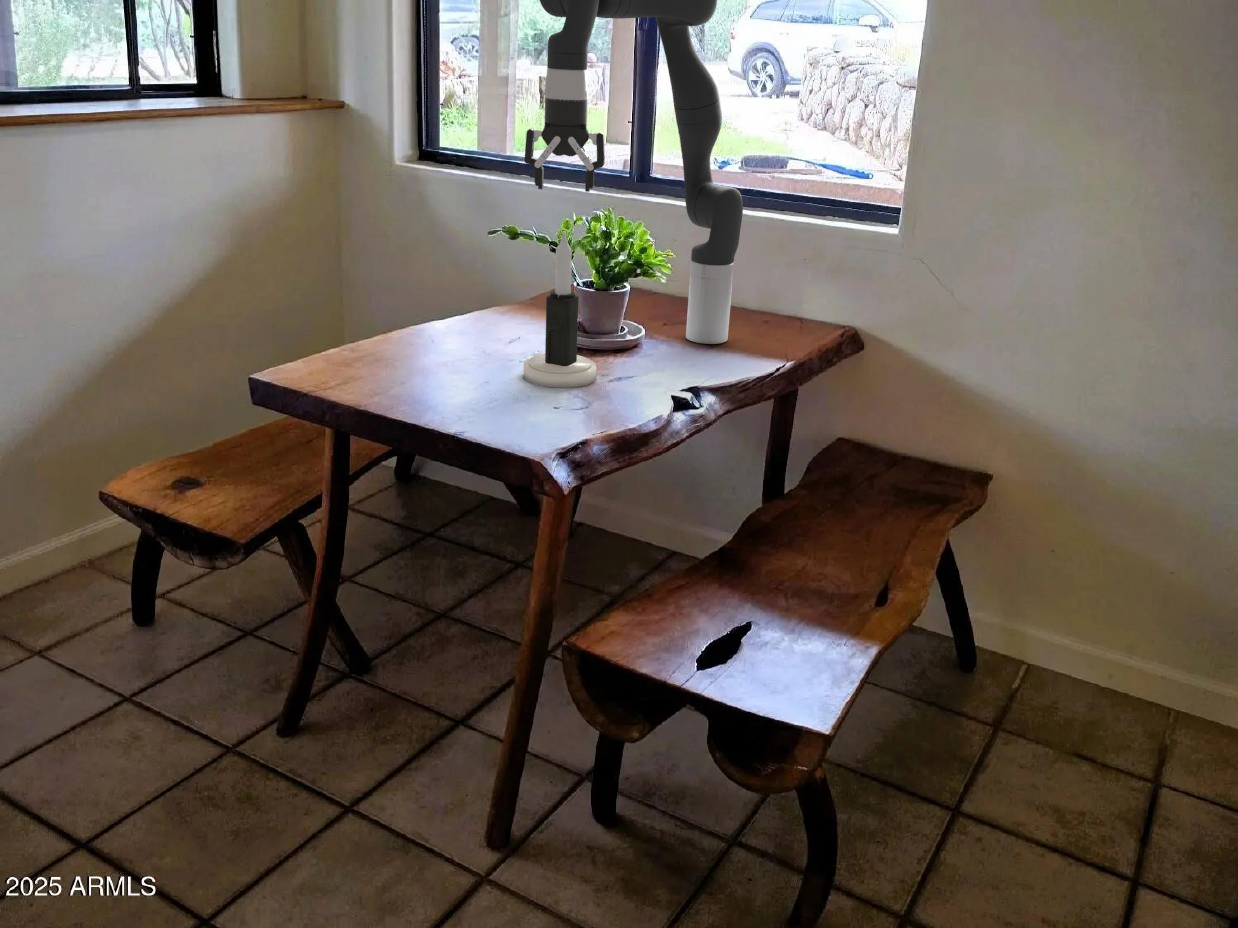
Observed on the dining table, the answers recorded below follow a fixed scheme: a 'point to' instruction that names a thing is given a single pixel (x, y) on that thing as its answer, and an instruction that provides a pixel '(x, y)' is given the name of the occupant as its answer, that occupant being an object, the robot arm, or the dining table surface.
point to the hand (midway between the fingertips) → (564, 190)
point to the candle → (562, 312)
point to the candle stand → (559, 372)
